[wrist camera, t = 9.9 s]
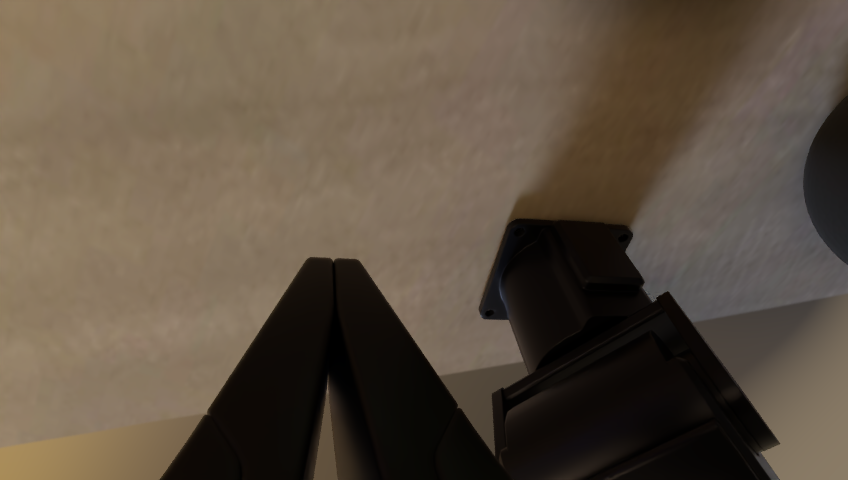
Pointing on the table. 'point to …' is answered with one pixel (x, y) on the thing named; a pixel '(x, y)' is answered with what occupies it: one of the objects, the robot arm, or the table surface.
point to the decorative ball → (830, 181)
